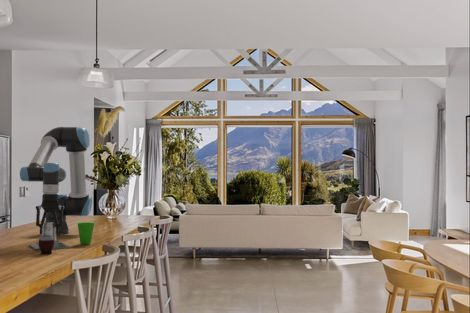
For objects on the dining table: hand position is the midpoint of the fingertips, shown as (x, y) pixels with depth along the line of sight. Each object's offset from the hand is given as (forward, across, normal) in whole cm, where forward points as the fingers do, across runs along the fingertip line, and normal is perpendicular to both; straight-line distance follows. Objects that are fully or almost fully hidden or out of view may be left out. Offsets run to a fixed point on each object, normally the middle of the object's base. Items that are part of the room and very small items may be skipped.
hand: (48, 240), depth 269 cm
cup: (+3, +17, +11) cm, 20 cm away
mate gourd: (+4, +2, -19) cm, 20 cm away
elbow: (+2, 0, -1) cm, 2 cm away
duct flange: (+4, 0, +1) cm, 4 cm away
